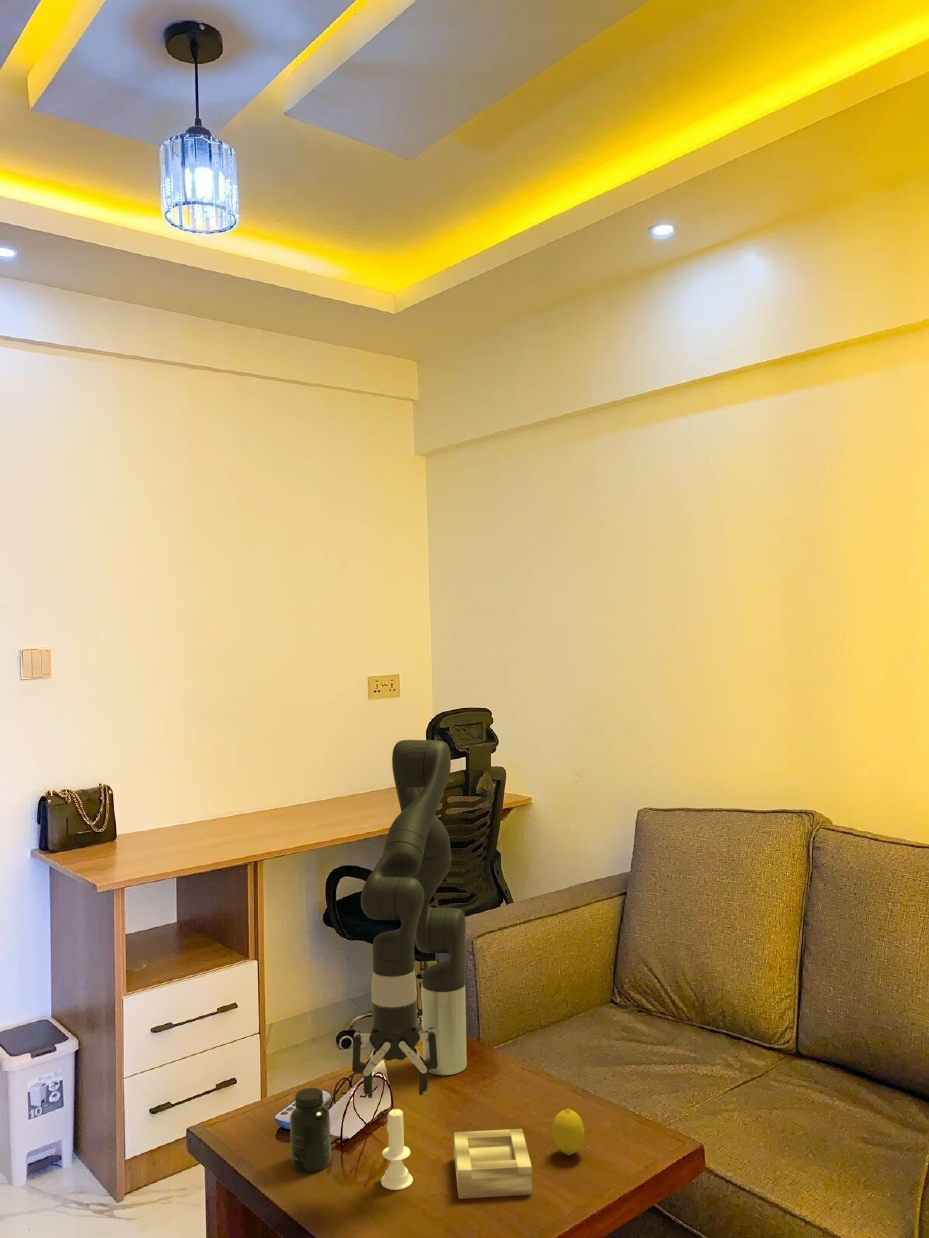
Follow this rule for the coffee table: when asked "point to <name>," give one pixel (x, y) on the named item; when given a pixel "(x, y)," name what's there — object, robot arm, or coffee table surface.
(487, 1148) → the birch plinth
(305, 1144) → the supplement bottle
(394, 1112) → the candle
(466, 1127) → the coffee table surface
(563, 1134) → the lemon
